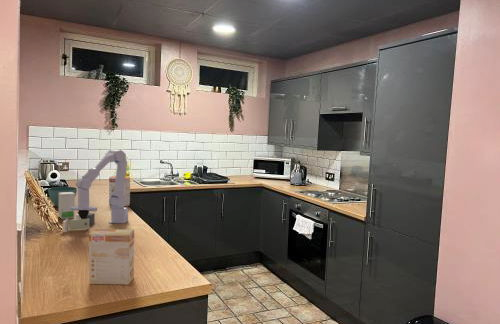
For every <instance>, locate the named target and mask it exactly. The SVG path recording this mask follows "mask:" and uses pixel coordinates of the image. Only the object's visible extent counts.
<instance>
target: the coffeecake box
mask: <svg viewBox="0 0 500 324" xmlns="http://www.w3.org/2000/svg"><path fill="white" fill-rule="evenodd" d="M88 261H89V262H88V267H89V268H88V269H89V270H88V273H89V274H88V277H89V278H88V280H89V281H88V283H89V285H126V286H127V285H128V286H129V285H130V284H131V282H132V281H133V280H134V279H135V229H115V228H114V229H111V228H109V229H108V228H96V229H94V230H93V231H91V232H89V233H88Z"/></svg>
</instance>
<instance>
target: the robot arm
mask: <svg viewBox="0 0 500 324" xmlns="http://www.w3.org/2000/svg"><path fill="white" fill-rule="evenodd" d="M126 157H127V154H126V152H125V151H123V150H121V149H112V148H111V149H109V150H108V151H107V152H106V153H105V155H104V156H103V158H102V159H101V160H100V161H99V162H98V163H97V164H96V165H95V167H92V168H89V169H87V172H86V173H85V174H84V175H82V176H81V178H78V179H77V180H76V183H75V187H76V188H77V205H76V206H75V207H73V206H72V207H70V211H72V210H75V211H77V214H79V216H80V219H86V218H87V215H88V213H90V212H97V211H98V207H95V206H90V188H91V187H92V183H93V182H94V181H95V180H96V179H97V178H98V176H100V172H101V171H102V170H103V169H104V168H105V167H106V166H107V165H108V164H109V163H115V165H116V166H117V167H116V174H115V176H116V180H115V187H114V192H113V193H112V194H111V197H110V199H109V198H108V203H109V204H110V209H111V210H110V217H111V218H110V219H111V220H110V221H108V223H109V224H126V223H127V222H129V209H128V207H124V206H125V205H126V199H125V197H126V196H125V194H124V192H123V191H124V184H125V177H127V176H126V175H127V168H128V160H127V158H126ZM109 204H108V205H109Z"/></svg>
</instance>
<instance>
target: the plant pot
mask: <svg viewBox="0 0 500 324" xmlns="http://www.w3.org/2000/svg"><path fill="white" fill-rule="evenodd" d="M63 192H73V193H75V197H76V195H77V193H78V187H76V186H75V187H73V186H57V187H56V186H55V187H51V188H48V189H47V193H48V196H49V199H50V200H51V202H52V204H53V205H54V206H56V207H59V194H58V193H63Z"/></svg>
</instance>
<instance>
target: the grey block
mask: <svg viewBox="0 0 500 324" xmlns="http://www.w3.org/2000/svg"><path fill="white" fill-rule="evenodd" d="M95 217H96V216H95V213H93V212H89V213H88V215H87V218H86V219H89V226H92V225H93V224H95V223H96V221H95Z"/></svg>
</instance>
